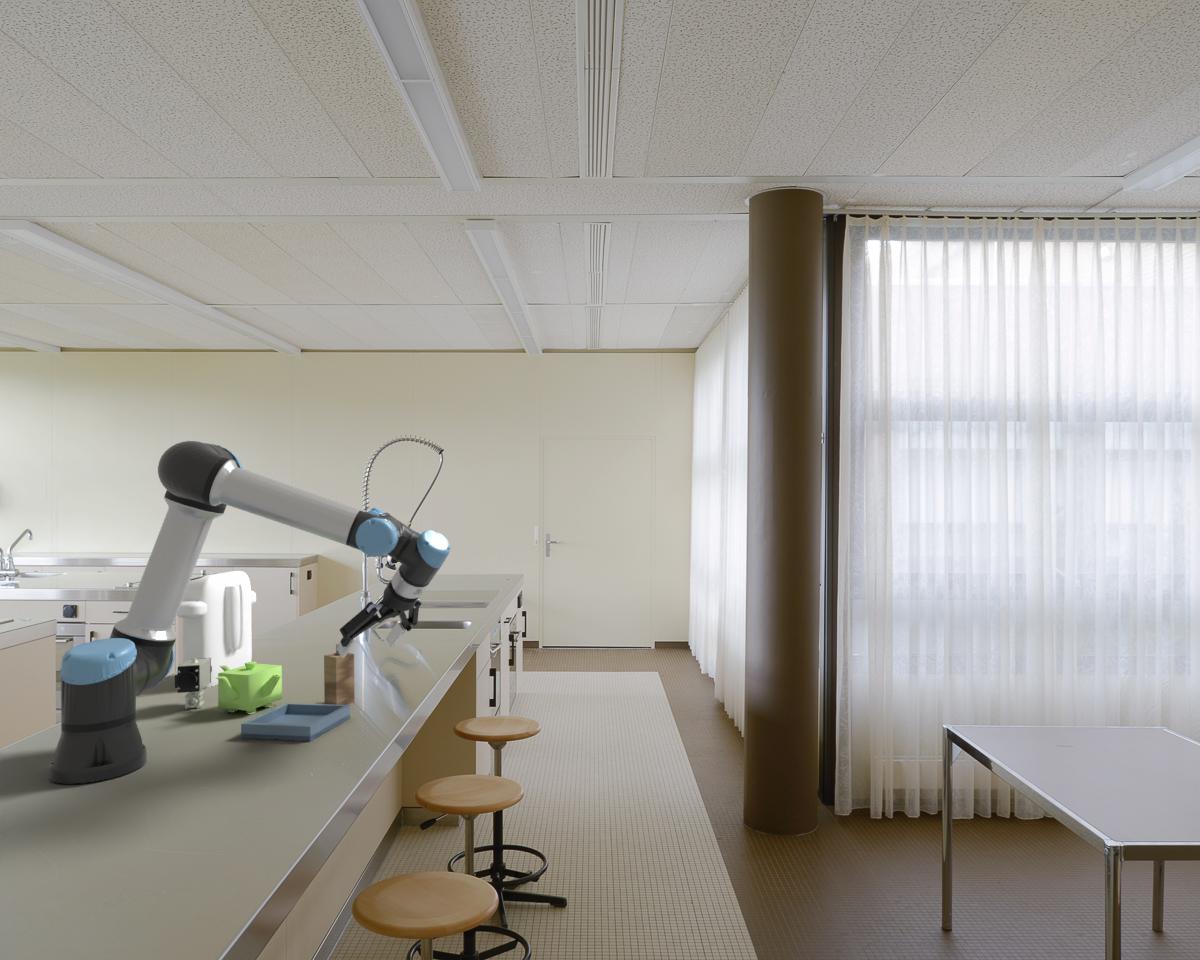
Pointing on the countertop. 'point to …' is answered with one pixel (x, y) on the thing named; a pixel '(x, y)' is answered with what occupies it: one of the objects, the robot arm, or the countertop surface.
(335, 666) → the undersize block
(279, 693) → the kettle
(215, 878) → the countertop surface
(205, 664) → the pneumatic valve
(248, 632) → the toaster
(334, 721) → the tray
